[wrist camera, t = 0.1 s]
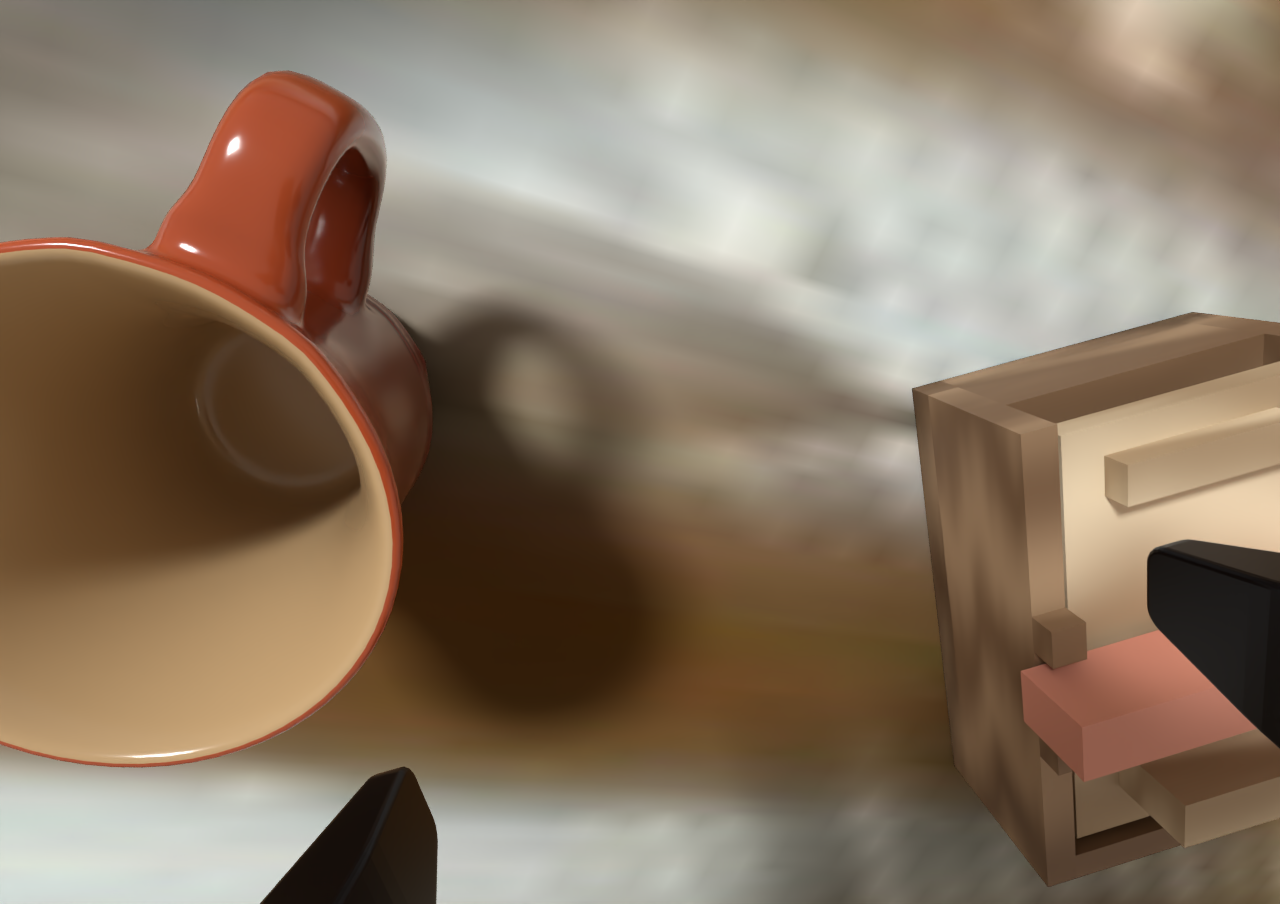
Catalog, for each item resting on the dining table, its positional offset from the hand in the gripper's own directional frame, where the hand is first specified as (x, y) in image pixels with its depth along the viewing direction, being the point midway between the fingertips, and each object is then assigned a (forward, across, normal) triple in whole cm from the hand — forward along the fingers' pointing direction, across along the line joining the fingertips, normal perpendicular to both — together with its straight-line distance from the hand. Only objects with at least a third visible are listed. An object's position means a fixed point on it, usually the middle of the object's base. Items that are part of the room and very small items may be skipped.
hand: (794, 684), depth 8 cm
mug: (+15, +8, -4) cm, 17 cm away
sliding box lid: (+10, -14, +10) cm, 20 cm away
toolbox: (+14, -14, +10) cm, 22 cm away
